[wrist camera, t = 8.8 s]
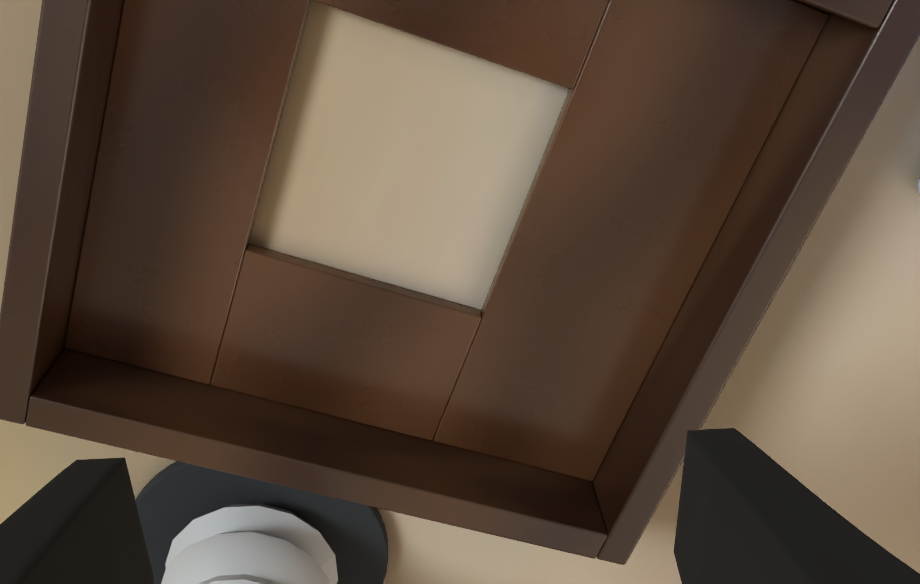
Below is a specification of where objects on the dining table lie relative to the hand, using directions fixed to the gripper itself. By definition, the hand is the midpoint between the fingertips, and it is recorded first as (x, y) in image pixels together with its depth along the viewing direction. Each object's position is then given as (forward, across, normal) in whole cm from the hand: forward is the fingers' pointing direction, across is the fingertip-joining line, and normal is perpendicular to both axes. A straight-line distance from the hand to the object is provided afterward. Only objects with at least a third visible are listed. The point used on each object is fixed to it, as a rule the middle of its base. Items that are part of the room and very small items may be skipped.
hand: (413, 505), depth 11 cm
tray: (+9, 0, -1) cm, 9 cm away
